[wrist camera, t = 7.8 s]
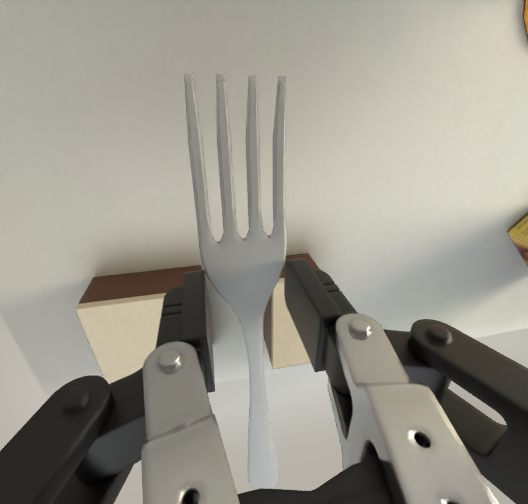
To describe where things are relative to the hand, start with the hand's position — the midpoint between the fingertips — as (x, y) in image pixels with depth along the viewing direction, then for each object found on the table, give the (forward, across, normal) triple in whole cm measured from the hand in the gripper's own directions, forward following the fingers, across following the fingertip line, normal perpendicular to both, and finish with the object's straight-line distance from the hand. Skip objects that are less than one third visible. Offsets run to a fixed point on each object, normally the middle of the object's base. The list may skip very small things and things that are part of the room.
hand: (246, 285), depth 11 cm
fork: (0, 0, +5) cm, 5 cm away
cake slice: (+11, -5, +10) cm, 15 cm away
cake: (+11, +6, +10) cm, 16 cm away
